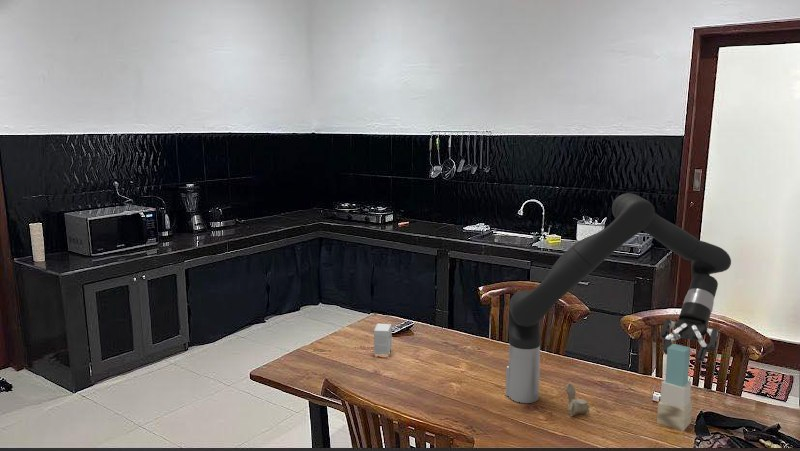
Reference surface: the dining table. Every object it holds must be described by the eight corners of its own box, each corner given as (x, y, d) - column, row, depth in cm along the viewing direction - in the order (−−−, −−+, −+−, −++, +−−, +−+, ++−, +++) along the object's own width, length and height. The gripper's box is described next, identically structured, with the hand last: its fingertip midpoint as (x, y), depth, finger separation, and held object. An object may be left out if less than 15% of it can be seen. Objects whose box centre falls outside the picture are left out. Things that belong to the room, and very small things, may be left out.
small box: (377, 349, 217) (377, 323, 215) (392, 350, 216) (391, 323, 214) (373, 357, 209) (373, 330, 207) (388, 358, 208) (388, 330, 206)
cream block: (660, 402, 158) (661, 382, 157) (667, 395, 162) (668, 375, 162) (683, 409, 154) (684, 388, 153) (690, 401, 158) (691, 381, 158)
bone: (592, 418, 159) (574, 385, 160) (571, 425, 161) (553, 394, 162) (594, 406, 167) (576, 375, 168) (574, 414, 169) (557, 384, 170)
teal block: (665, 382, 157) (667, 348, 156) (670, 377, 161) (673, 343, 159) (682, 386, 154) (684, 352, 153) (687, 381, 158) (690, 347, 156)
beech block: (656, 423, 159) (658, 403, 158) (665, 413, 164) (666, 394, 163) (683, 431, 154) (684, 410, 153) (691, 421, 159) (692, 401, 158)
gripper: (668, 296, 167) (652, 344, 160) (722, 305, 157) (708, 357, 151) (673, 310, 171) (658, 357, 165) (726, 319, 162) (712, 369, 155)
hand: (682, 357), depth 158 cm, fingers open, 8 cm apart
